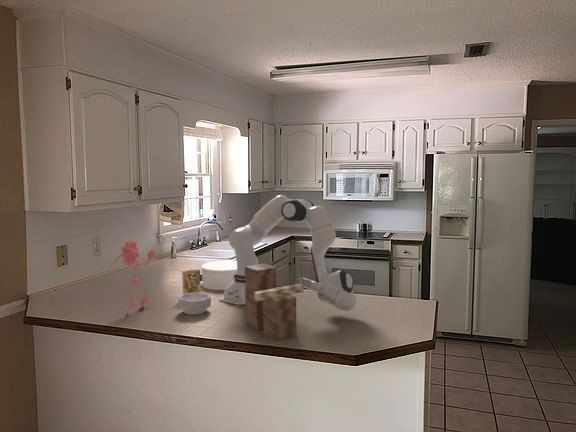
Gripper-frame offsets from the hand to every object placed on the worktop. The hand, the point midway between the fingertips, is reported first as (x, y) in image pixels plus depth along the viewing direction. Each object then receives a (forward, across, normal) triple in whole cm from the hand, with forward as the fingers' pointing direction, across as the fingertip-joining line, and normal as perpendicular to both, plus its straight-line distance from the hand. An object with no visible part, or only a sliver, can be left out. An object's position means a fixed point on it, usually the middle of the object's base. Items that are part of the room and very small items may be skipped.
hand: (305, 281), depth 203 cm
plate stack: (-15, -89, +15) cm, 92 cm away
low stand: (+1, 0, +24) cm, 25 cm away
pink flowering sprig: (+37, -71, +45) cm, 92 cm away
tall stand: (+1, -15, +24) cm, 29 cm away
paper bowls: (+16, -49, +33) cm, 61 cm away
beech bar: (+10, 0, +10) cm, 14 cm away
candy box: (+9, -73, +29) cm, 79 cm away
